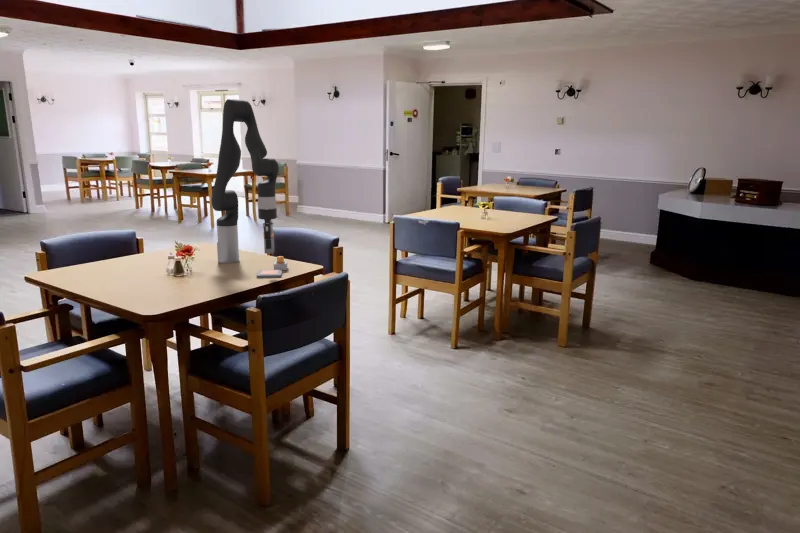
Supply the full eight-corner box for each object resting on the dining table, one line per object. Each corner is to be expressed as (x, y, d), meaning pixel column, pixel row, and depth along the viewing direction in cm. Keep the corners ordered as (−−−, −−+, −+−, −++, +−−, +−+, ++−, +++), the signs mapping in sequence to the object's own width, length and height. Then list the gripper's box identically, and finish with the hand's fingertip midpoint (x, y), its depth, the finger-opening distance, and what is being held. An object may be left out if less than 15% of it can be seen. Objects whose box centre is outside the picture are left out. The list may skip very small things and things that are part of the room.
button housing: (273, 270, 249) (273, 264, 248) (274, 267, 254) (274, 261, 253) (286, 270, 250) (286, 263, 249) (287, 267, 255) (287, 261, 254)
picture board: (256, 277, 236) (256, 275, 236) (258, 272, 246) (258, 269, 245) (281, 277, 238) (280, 274, 237) (282, 271, 247) (282, 269, 247)
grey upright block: (263, 253, 237) (262, 232, 235) (264, 251, 241) (263, 231, 239) (274, 253, 238) (273, 232, 236) (274, 251, 242) (273, 230, 240)
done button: (276, 264, 250) (276, 257, 249) (277, 262, 252) (277, 256, 252) (283, 264, 250) (283, 257, 249) (284, 262, 253) (283, 256, 252)
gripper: (259, 205, 241) (261, 244, 245) (256, 209, 228) (258, 251, 232) (277, 205, 243) (279, 244, 246) (275, 209, 229) (277, 250, 233)
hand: (269, 247), depth 239 cm, fingers closed on grey upright block, 4 cm apart
